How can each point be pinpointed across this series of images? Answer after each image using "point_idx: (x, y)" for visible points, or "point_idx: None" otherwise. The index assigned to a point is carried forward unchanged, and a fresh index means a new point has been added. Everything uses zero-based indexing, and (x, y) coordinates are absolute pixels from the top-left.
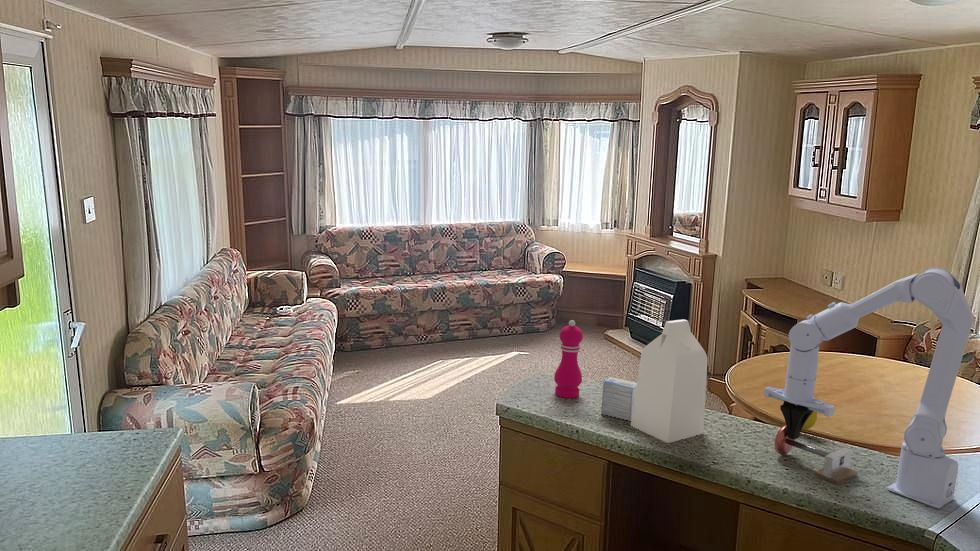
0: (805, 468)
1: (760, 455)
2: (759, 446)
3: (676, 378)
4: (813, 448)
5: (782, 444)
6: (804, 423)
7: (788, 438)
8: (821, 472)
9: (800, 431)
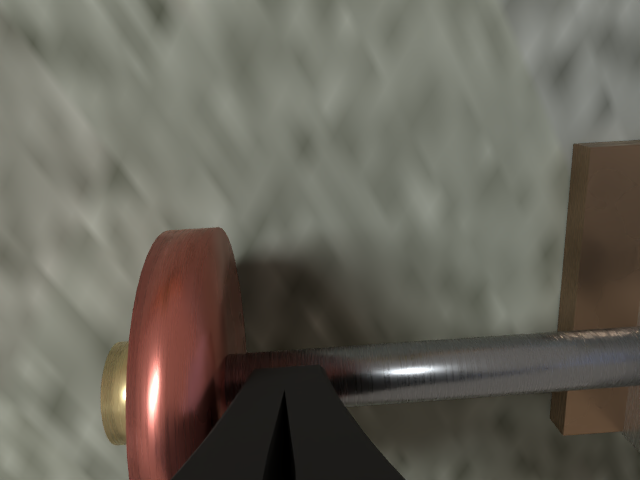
0: None
1: None
2: (7, 322)
3: None
4: (528, 387)
5: None
6: (394, 470)
7: (224, 376)
8: (599, 401)
9: (339, 401)
